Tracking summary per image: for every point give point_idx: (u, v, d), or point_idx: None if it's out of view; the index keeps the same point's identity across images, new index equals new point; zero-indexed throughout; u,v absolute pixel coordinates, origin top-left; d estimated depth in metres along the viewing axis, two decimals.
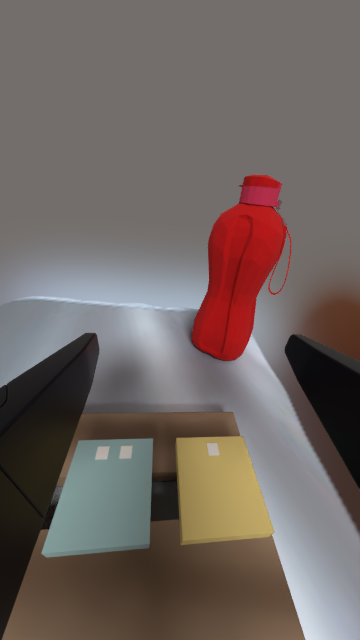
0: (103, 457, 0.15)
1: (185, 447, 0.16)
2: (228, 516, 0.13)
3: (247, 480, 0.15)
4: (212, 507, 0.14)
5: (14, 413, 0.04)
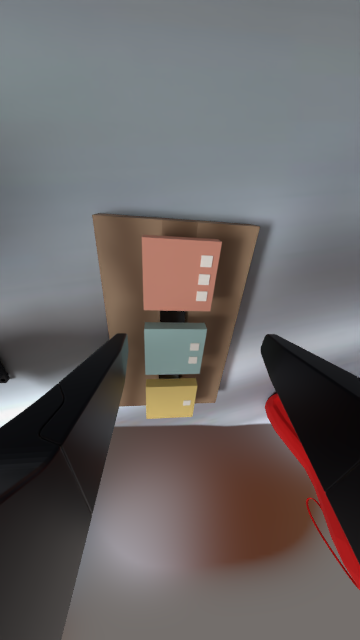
0: (190, 348, 0.20)
1: (190, 390, 0.23)
2: (153, 404, 0.24)
3: (168, 414, 0.26)
4: (158, 399, 0.24)
5: (76, 411, 0.04)
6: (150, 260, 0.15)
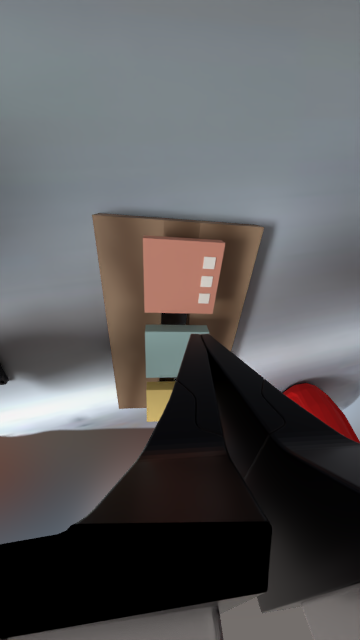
0: None
1: None
2: (154, 407, 0.24)
3: None
4: (158, 402, 0.23)
5: (213, 406, 0.05)
6: (151, 261, 0.15)
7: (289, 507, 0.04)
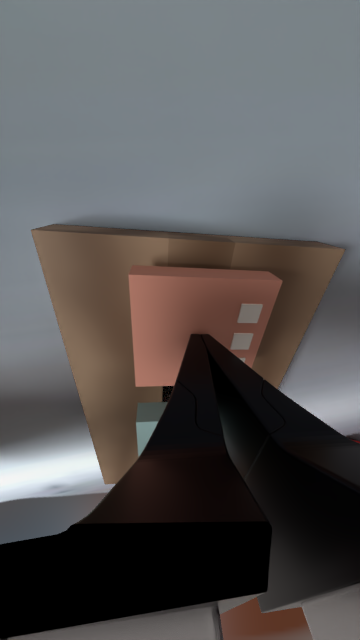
0: None
1: None
2: None
3: None
4: None
5: (213, 406, 0.05)
6: (145, 313, 0.08)
7: (289, 507, 0.04)
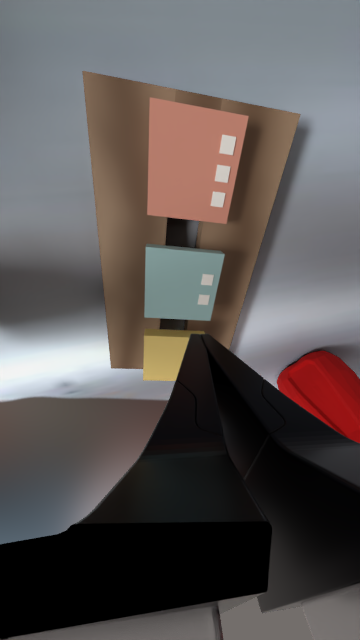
0: (202, 281, 0.16)
1: None
2: (152, 361, 0.20)
3: (169, 375, 0.22)
4: (158, 354, 0.20)
5: (213, 406, 0.05)
6: (158, 136, 0.12)
7: (289, 507, 0.04)
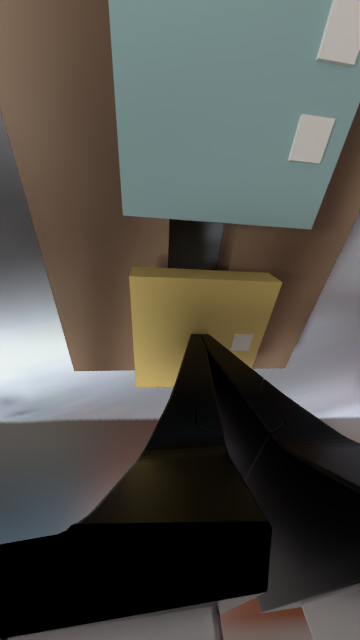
0: (328, 38, 0.04)
1: (259, 297, 0.08)
2: (153, 344, 0.09)
3: None
4: (165, 327, 0.09)
5: (213, 406, 0.05)
6: None
7: (289, 507, 0.04)
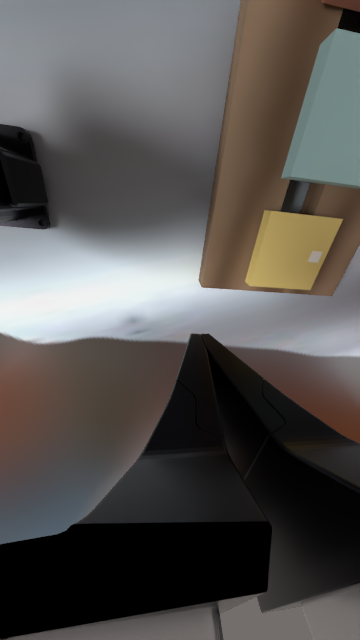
0: None
1: (329, 227, 0.16)
2: (269, 254, 0.17)
3: (281, 280, 0.18)
4: (278, 243, 0.16)
5: (213, 406, 0.05)
6: None
7: (289, 507, 0.04)
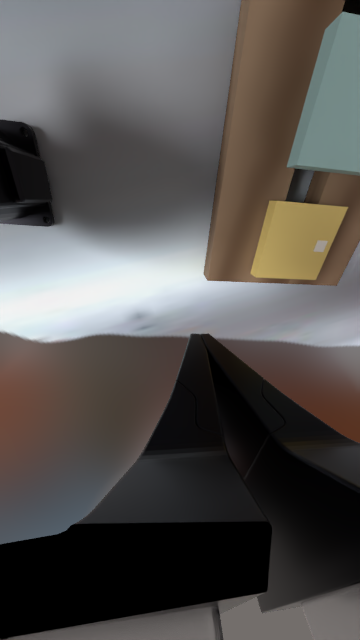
0: None
1: (335, 216, 0.16)
2: (274, 245, 0.17)
3: (286, 270, 0.18)
4: (284, 233, 0.16)
5: (213, 406, 0.05)
6: None
7: (289, 507, 0.04)
